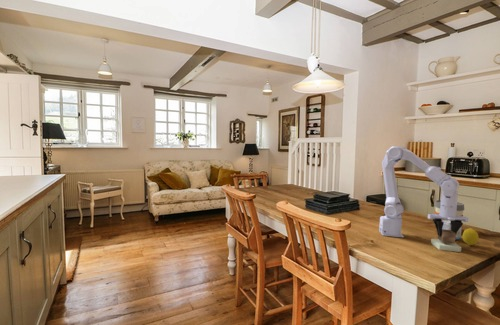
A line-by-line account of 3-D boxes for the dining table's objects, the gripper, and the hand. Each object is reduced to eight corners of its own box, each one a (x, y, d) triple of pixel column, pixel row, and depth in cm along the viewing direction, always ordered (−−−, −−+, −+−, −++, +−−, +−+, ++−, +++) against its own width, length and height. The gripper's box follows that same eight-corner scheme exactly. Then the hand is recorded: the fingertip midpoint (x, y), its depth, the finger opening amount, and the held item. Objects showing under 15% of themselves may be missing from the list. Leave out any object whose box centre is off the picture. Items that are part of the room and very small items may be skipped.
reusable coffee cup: (434, 231, 134) (437, 203, 133) (431, 225, 145) (432, 199, 144) (465, 236, 128) (467, 206, 127) (459, 229, 139) (461, 201, 138)
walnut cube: (442, 242, 111) (443, 232, 110) (437, 238, 115) (438, 228, 115) (454, 243, 110) (455, 233, 109) (449, 239, 114) (450, 229, 114)
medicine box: (448, 240, 121) (450, 222, 120) (439, 237, 125) (440, 220, 125) (461, 239, 123) (462, 221, 122) (451, 236, 127) (452, 219, 127)
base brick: (439, 250, 110) (439, 245, 110) (430, 243, 118) (431, 238, 118) (460, 252, 108) (461, 247, 108) (451, 245, 116) (451, 240, 116)
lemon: (461, 242, 119) (463, 225, 119) (477, 245, 116) (478, 228, 115) (461, 245, 115) (463, 228, 115) (478, 249, 112) (479, 231, 111)
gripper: (433, 206, 109) (431, 237, 110) (473, 209, 106) (470, 241, 107) (426, 203, 116) (424, 232, 117) (463, 205, 113) (461, 235, 114)
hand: (446, 236), depth 113 cm, fingers closed on walnut cube, 4 cm apart
